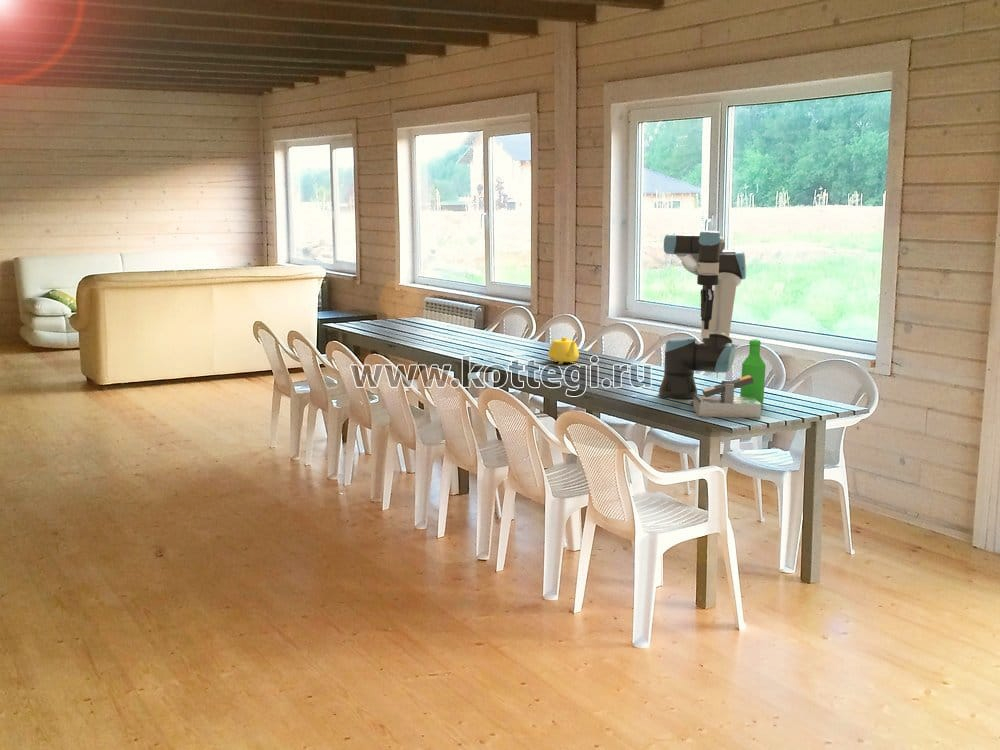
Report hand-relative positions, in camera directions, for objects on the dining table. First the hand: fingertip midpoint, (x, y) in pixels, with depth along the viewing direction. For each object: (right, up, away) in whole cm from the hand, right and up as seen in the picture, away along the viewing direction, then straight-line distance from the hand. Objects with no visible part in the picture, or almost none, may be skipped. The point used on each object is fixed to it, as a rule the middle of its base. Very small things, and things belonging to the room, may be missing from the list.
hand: (705, 337), depth 373 cm
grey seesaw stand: (+7, -28, -2) cm, 29 cm away
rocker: (+7, -18, -4) cm, 20 cm away
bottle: (+21, -25, +15) cm, 36 cm away
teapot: (-45, -8, +109) cm, 118 cm away
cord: (+5, -26, +10) cm, 28 cm away
